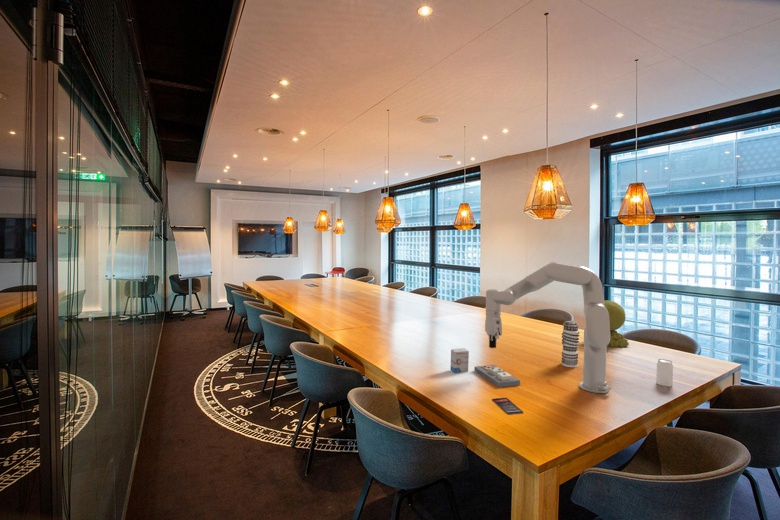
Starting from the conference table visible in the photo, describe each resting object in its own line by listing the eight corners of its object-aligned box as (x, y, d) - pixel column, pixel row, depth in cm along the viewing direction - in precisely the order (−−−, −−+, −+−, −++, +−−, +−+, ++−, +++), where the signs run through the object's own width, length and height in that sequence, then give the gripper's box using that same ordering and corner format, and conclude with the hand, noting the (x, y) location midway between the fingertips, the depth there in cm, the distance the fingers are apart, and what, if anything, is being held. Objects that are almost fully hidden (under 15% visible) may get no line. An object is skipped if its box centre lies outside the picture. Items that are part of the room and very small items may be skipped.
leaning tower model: (580, 368, 211) (582, 324, 210) (563, 366, 213) (564, 323, 211) (576, 362, 220) (577, 320, 219) (559, 361, 222) (560, 319, 220)
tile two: (503, 375, 194) (503, 369, 194) (494, 376, 192) (494, 370, 192) (497, 371, 199) (497, 366, 198) (489, 372, 197) (489, 367, 197)
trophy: (582, 338, 275) (583, 297, 274) (613, 339, 274) (614, 298, 273) (598, 347, 253) (599, 303, 251) (631, 347, 252) (633, 303, 250)
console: (520, 385, 186) (520, 380, 186) (498, 387, 182) (498, 382, 182) (493, 369, 209) (494, 364, 209) (474, 370, 205) (474, 366, 205)
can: (656, 381, 192) (657, 357, 191) (672, 384, 188) (673, 360, 187) (655, 384, 187) (656, 361, 186) (671, 388, 183) (672, 363, 182)
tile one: (511, 380, 186) (511, 374, 186) (502, 381, 185) (502, 375, 185) (505, 376, 191) (506, 371, 191) (496, 377, 190) (496, 372, 190)
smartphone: (506, 397, 170) (524, 412, 155) (506, 399, 170) (524, 414, 155) (491, 398, 169) (507, 414, 154) (491, 400, 169) (507, 415, 154)
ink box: (454, 373, 202) (454, 351, 201) (450, 370, 206) (450, 348, 206) (468, 371, 204) (469, 350, 203) (464, 368, 209) (464, 347, 208)
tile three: (495, 373, 201) (495, 368, 201) (486, 373, 200) (486, 369, 199) (490, 369, 206) (490, 365, 206) (481, 370, 205) (481, 365, 204)
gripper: (507, 315, 192) (506, 351, 192) (492, 310, 206) (491, 343, 207) (494, 316, 190) (493, 352, 191) (479, 310, 204) (479, 344, 205)
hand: (492, 347), depth 199 cm, fingers closed
